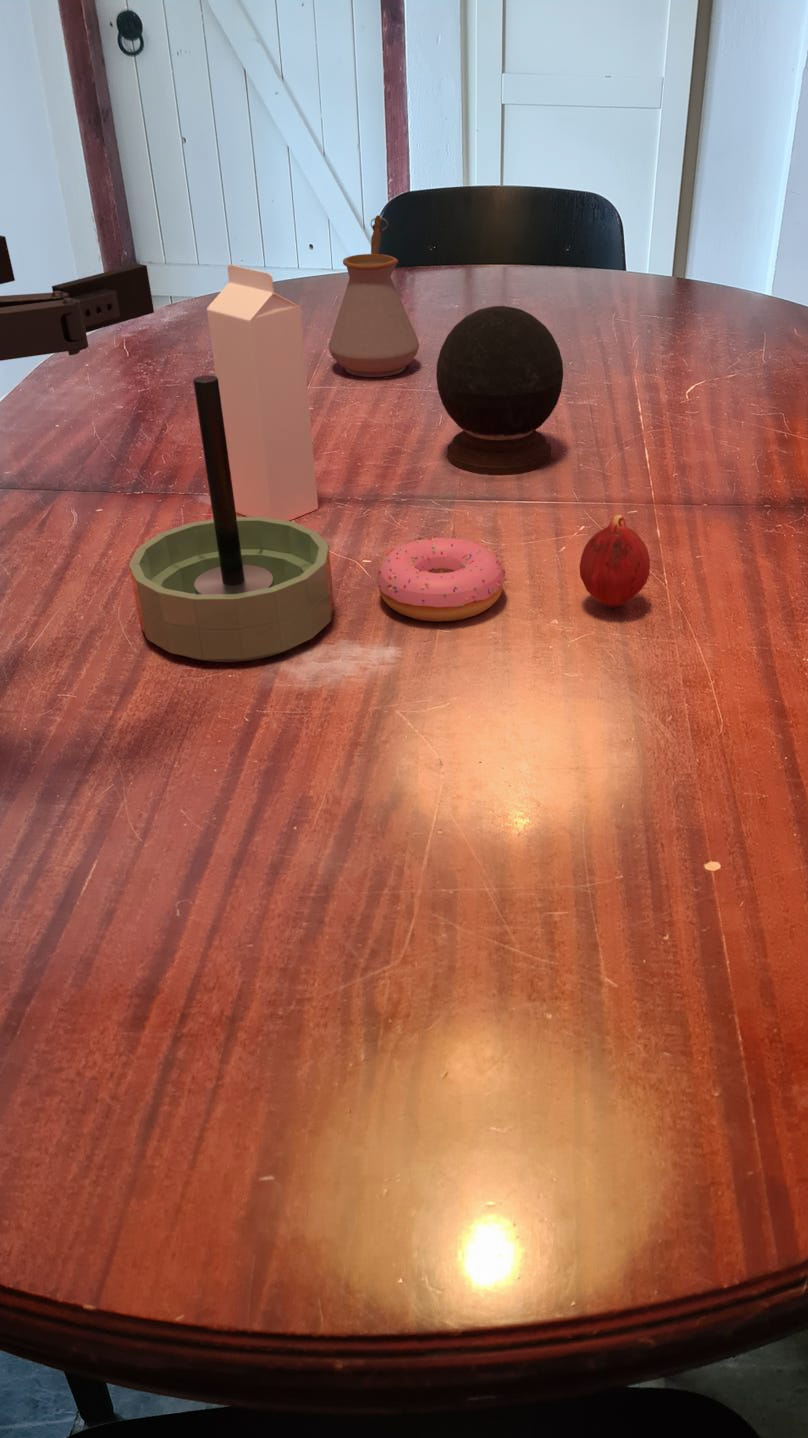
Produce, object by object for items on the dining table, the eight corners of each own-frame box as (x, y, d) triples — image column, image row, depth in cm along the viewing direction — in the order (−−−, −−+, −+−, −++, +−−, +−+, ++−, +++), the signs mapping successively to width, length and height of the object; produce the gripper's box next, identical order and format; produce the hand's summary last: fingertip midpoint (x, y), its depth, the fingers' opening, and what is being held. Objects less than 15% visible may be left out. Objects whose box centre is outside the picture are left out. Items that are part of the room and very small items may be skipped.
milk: (273, 528, 118) (244, 281, 104) (232, 512, 121) (199, 270, 108) (320, 509, 122) (298, 267, 108) (279, 493, 125) (252, 257, 111)
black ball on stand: (412, 456, 133) (407, 308, 124) (498, 426, 140) (498, 284, 131) (500, 488, 126) (501, 333, 116) (585, 454, 133) (592, 307, 124)
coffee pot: (417, 382, 153) (412, 250, 144) (325, 382, 153) (314, 251, 144) (426, 334, 170) (422, 214, 161) (343, 334, 170) (335, 214, 161)
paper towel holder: (184, 624, 101) (143, 386, 89) (225, 592, 105) (192, 362, 94) (252, 638, 99) (219, 396, 87) (291, 604, 103) (265, 371, 92)
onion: (643, 625, 102) (651, 533, 97) (574, 620, 102) (578, 528, 98) (648, 594, 106) (656, 505, 101) (582, 589, 107) (586, 500, 102)
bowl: (105, 648, 99) (90, 579, 96) (209, 570, 111) (199, 506, 107) (274, 683, 94) (266, 612, 91) (365, 598, 106) (360, 532, 102)
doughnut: (409, 564, 111) (406, 520, 109) (523, 583, 108) (524, 538, 105) (355, 616, 103) (352, 570, 101) (478, 638, 100) (477, 591, 97)
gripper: (-335, 383, 73) (-32, 304, 87) (-86, 474, 62) (220, 367, 75) (-391, 245, 69) (-61, 185, 82) (-133, 316, 57) (202, 232, 71)
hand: (74, 272), depth 79 cm, fingers open, 13 cm apart
